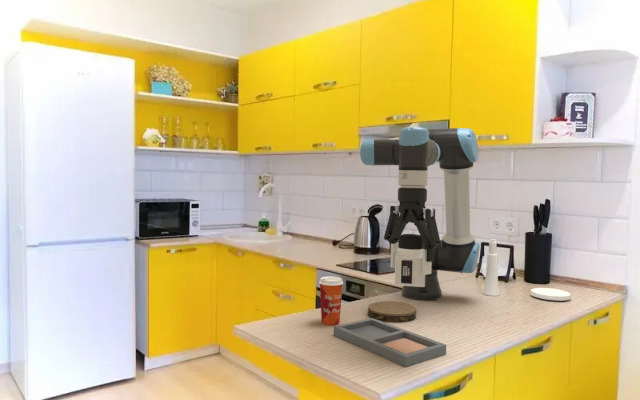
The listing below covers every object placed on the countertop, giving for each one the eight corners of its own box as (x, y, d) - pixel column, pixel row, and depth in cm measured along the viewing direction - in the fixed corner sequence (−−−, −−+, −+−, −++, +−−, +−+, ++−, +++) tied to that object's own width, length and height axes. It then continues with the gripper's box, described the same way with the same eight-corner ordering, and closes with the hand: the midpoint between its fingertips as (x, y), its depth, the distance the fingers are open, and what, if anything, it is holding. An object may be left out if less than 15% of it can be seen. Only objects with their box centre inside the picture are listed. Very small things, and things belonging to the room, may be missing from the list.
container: (424, 287, 124) (426, 236, 123) (394, 285, 126) (395, 235, 125) (424, 281, 132) (426, 233, 131) (395, 279, 133) (397, 232, 133)
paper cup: (325, 327, 147) (326, 282, 146) (314, 320, 154) (314, 277, 153) (347, 324, 151) (348, 279, 150) (335, 317, 158) (336, 275, 157)
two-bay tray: (333, 334, 141) (333, 326, 141) (371, 325, 150) (372, 317, 149) (406, 367, 118) (406, 356, 118) (446, 354, 127) (446, 344, 127)
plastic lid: (578, 303, 182) (578, 296, 182) (542, 303, 181) (542, 296, 181) (557, 294, 196) (557, 287, 196) (524, 294, 195) (524, 287, 195)
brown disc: (362, 320, 157) (363, 310, 157) (374, 307, 172) (374, 299, 171) (412, 326, 151) (412, 316, 151) (419, 312, 166) (419, 303, 166)
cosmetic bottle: (501, 296, 190) (503, 240, 189) (485, 295, 190) (487, 240, 189) (496, 292, 196) (498, 238, 195) (481, 292, 196) (482, 238, 195)
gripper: (371, 185, 134) (370, 265, 135) (437, 188, 116) (435, 279, 117) (391, 186, 139) (389, 262, 140) (457, 188, 120) (454, 276, 121)
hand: (410, 270), depth 128 cm, fingers closed on container, 10 cm apart
